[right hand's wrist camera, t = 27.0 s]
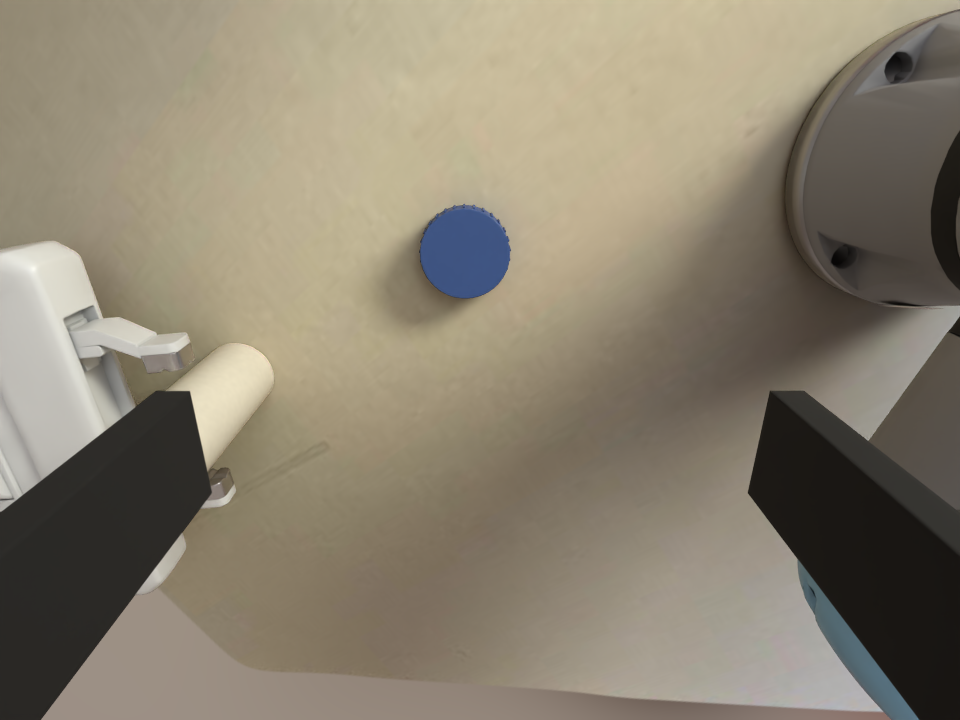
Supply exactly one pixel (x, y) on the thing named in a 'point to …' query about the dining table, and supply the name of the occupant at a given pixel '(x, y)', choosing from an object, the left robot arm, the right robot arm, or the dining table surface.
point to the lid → (465, 251)
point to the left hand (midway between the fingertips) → (209, 422)
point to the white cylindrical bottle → (226, 394)
